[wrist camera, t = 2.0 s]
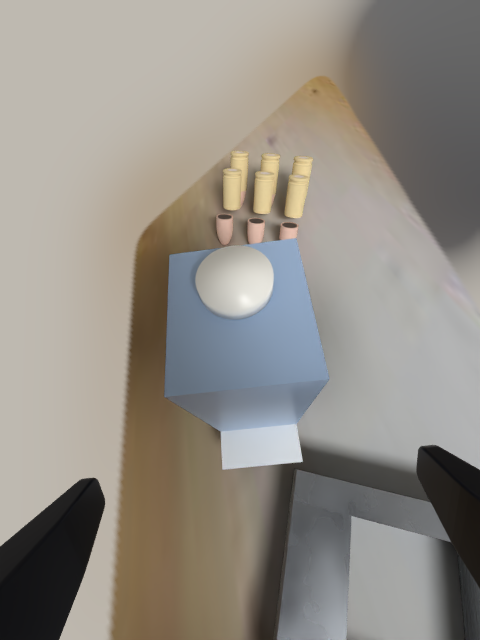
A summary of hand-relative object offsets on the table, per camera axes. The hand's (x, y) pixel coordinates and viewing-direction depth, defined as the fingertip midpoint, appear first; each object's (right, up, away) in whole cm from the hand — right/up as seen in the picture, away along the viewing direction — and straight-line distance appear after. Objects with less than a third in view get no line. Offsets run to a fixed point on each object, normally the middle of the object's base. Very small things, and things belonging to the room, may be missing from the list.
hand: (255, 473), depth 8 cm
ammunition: (+2, +14, +20) cm, 24 cm away
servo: (+1, -1, +12) cm, 12 cm away
